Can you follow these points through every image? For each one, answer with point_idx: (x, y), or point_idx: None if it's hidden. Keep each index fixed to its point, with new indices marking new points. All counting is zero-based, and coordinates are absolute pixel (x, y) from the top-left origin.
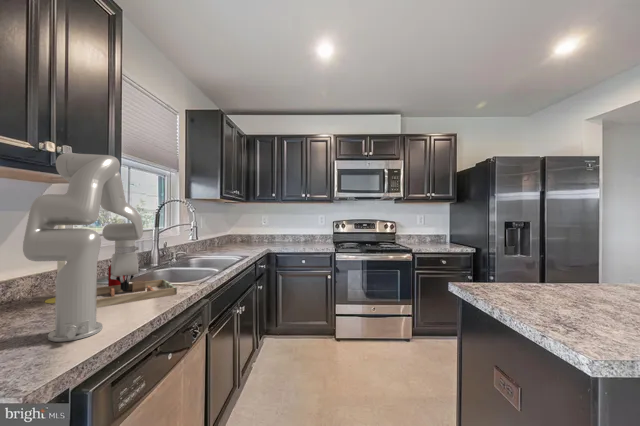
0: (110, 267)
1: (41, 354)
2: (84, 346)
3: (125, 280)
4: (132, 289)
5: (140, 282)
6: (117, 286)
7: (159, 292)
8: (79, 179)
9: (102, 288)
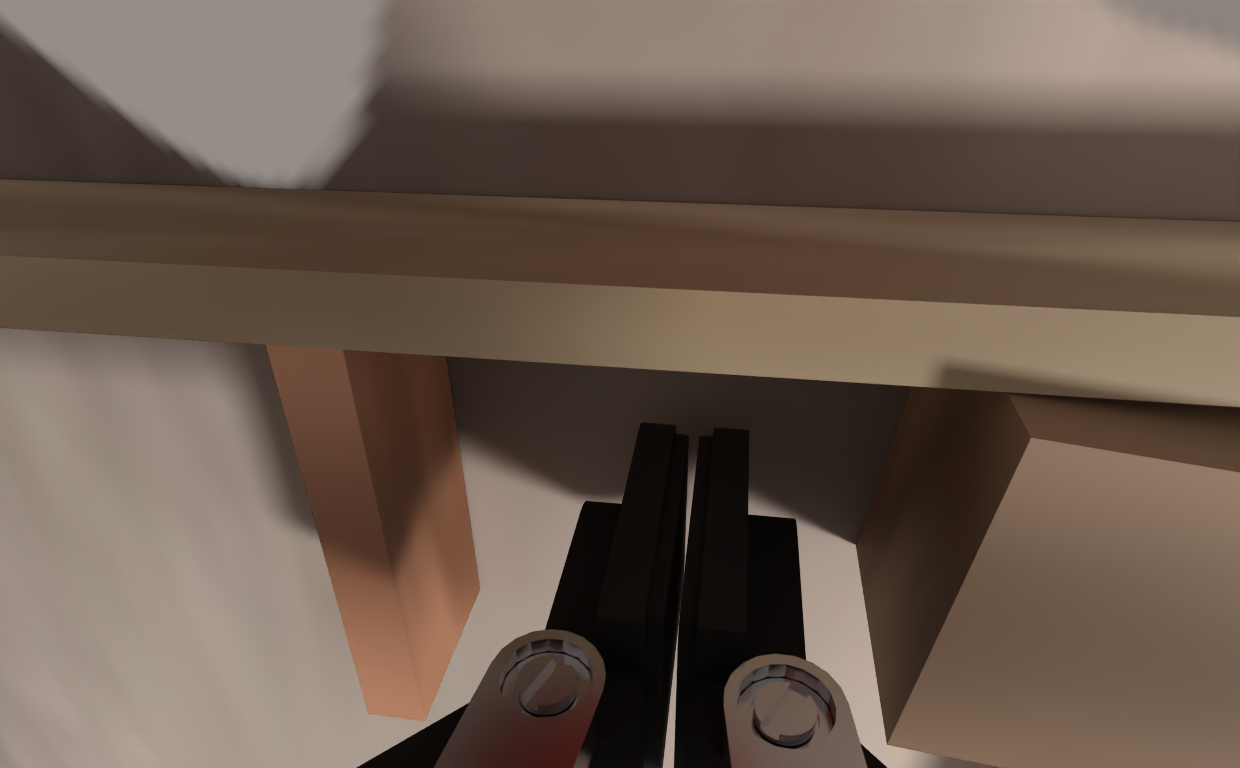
0: None
1: None
2: None
3: (690, 761)
4: (887, 527)
5: (1203, 708)
6: (499, 345)
7: None
8: None
9: (91, 317)
